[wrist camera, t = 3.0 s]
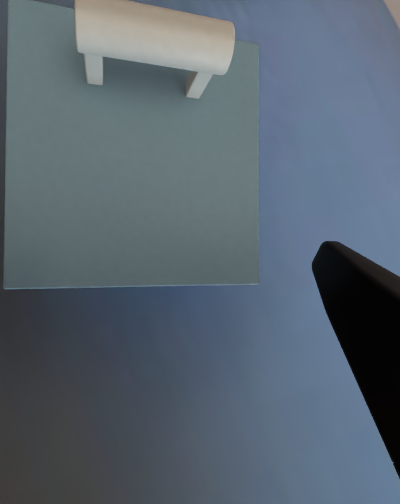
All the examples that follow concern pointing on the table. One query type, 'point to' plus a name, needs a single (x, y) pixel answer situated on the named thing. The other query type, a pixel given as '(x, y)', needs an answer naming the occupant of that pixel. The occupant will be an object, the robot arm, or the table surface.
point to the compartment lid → (129, 148)
